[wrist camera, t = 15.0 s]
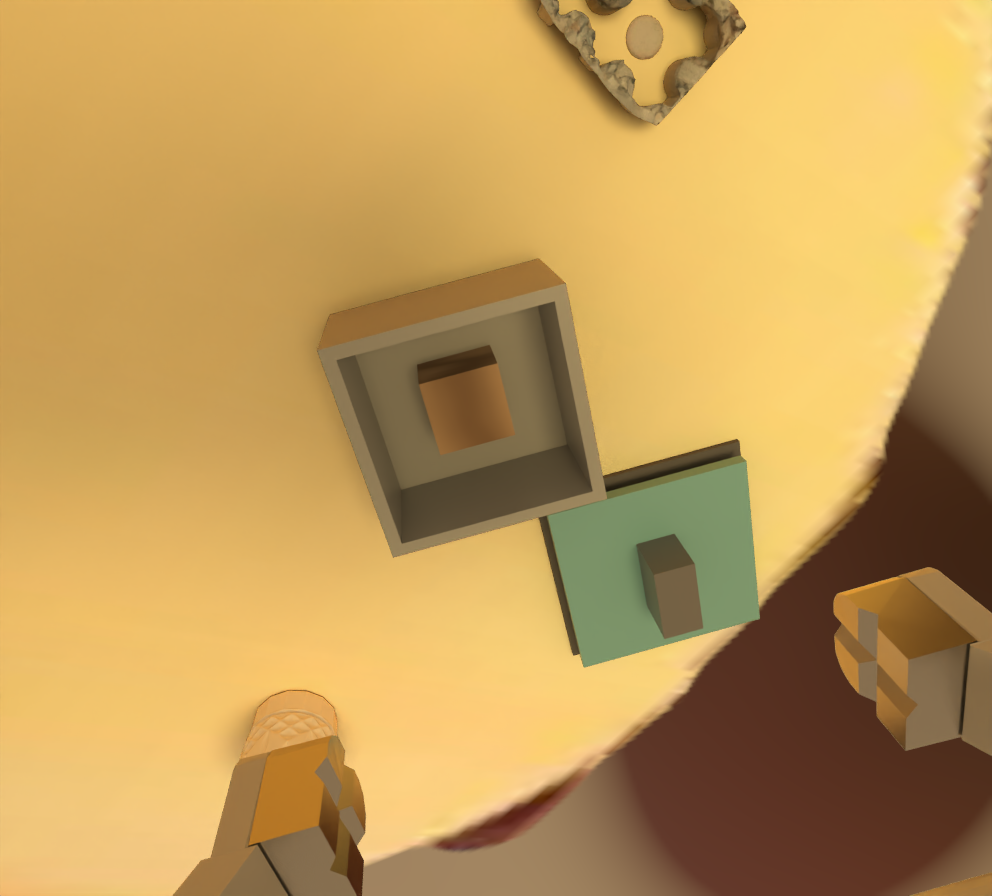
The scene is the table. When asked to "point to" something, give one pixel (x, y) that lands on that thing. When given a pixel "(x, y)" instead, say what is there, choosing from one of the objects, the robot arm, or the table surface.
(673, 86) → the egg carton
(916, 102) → the table surface
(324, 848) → the robot arm
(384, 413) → the storage box
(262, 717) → the tan cup
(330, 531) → the table surface
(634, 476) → the rubber mat
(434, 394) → the block
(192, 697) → the table surface
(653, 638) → the lid
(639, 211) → the table surface
